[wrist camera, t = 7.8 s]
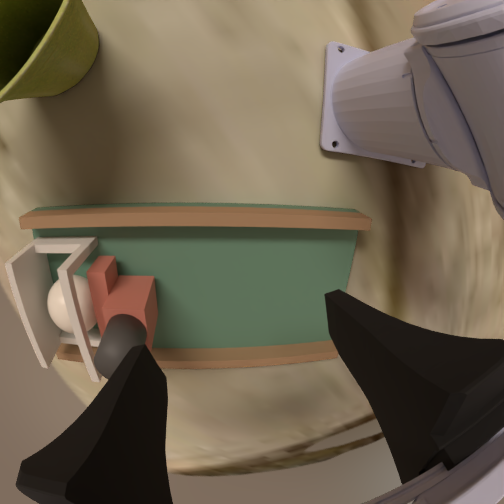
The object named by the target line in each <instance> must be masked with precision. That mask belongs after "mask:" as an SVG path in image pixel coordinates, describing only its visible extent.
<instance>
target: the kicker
mask: <svg viewBox="0 0 504 504" xmlns="http://www.w3.org/2000/svg"><path fill="white" fill-rule="evenodd" d="M86 273H87V279H88V284H89V289H90V293H91V298H92V302H93V307H94V311H95V315H96V319H97V323H98V327H99V331H100V334H101V341H100V343H99V346H98V349H97V351H96V354H95V356H94V365H95V367H96V369H97V371H98V372H99V373H100V374H101V375H102V376H104V377H105V378H107V379H110V377H111V376H112V374H113V373H114V371H115V370H116V368H117V367H118V366H119V364H120V363H121V361H122V360H123V358H124V357H125V356H126V354H127V353H128V352H129V350H130V349H131V348H132V347H134V346H138V345H143V344H146V346H147V348H148V349H149V351H151V349H152V344H153V338H154V333H155V328H156V323H157V318H158V307H157V298H156V288H155V278H154V276H124V275H119V276H118V272H117V265H116V257H115V256H98V257H97V259H96V260H95V261H94V263H93V264H92V265H91V267H90V268H89V269H88V271H87V272H86Z"/></svg>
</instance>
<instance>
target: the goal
mask: <svg viewBox="0 0 504 504" xmlns="http://www.w3.org/2000/svg"><path fill="white" fill-rule="evenodd" d="M97 245H98V239H97V236H66V237H37V238H36V239H34V240H33V241H32V242H30V243H29V244H28V245H27V246H25V247H24V248H23V249H22V250H20V251H19V252H18V253H17V254H15V255H14V256H13V257H12V258H10V259H9V260H8V261H7V262H6V263H5V267H6V271H7V274H8V278H9V282H10V285H11V289H12V292H13V295H14V298H15V301H16V304H17V307H18V310H19V313H20V316H21V319H22V321H23V324H24V327H25V329H26V332H27V334H28V337H29V339H30V342H31V344H32V346H33V349H34V351H35V353H36V355H37V357H38V360H39V362H40V364H41V366H42V367H44V368H49V366H50V364H51V362H52V360H53V358H54V356H55V354H56V352H57V350H58V348H59V346H60V344H61V343H66V344H75V345H78V346H79V349H80V352H81V355H82V357H83V360H84V363H85V365H86V368H87V370H88V373H89V375H90V378H91V380H92V381H94V382H100V380H101V377H102V375H101V374H100V373H99V372H98V371H97V369H96V367H95V365H94V353H93V350H92V347H91V346H95V347H98V346H99V343H100V341H101V334H100V331H99V329H96V328H91V329H90V330H89V331H86V327H85V324H84V320H83V317H82V313H81V309H80V305H79V301H78V297H77V293H76V288H75V284H74V279H73V274H74V273H75V272H76V270H77V269H78V268H79V267H80V266H81V264H82V263H83V262H84V261H85V259H86V258H87V257H88V256H89V255H90V254H91V252H92V251H93V250H94V249H95V248H96V247H97ZM47 253H72V254H71V255H70V256H69V257H68V258H67V259H66V261H65V262H64V263H63V264H62V265H61V266H60V267H59V268H58V269H57V272H58V277H59V281H60V285H61V289H62V293H63V297H64V301H65V305H66V308H67V312H68V315H69V319H70V322H71V325H72V328H73V331H74V334H72V333H68V332H65V331H63V330H62V329H60V328H59V327H58V326H57V325H56V324H55V323H54V322H53V320H52V318H51V317H50V314H49V311H48V305H47V301H48V294H49V291H50V289H51V287H52V286H53V280H52V276H51V272H50V267H49V262H48V257H47Z"/></svg>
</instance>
